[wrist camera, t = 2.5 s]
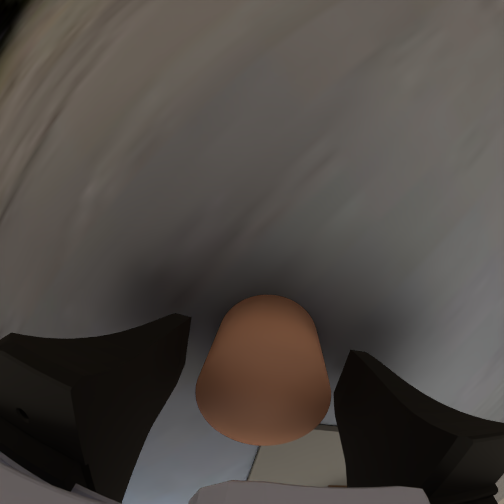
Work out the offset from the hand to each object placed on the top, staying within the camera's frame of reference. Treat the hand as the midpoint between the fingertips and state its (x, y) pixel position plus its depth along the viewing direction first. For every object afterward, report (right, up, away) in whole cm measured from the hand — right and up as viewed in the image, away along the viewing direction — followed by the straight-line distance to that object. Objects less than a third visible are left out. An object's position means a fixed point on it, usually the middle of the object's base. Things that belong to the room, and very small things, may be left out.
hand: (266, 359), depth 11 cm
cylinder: (0, 0, +1) cm, 2 cm away
